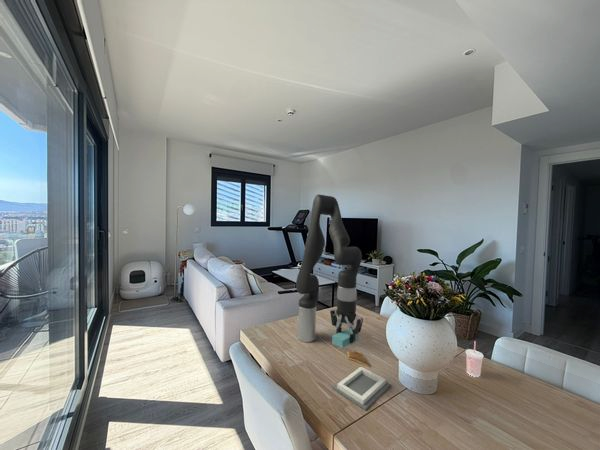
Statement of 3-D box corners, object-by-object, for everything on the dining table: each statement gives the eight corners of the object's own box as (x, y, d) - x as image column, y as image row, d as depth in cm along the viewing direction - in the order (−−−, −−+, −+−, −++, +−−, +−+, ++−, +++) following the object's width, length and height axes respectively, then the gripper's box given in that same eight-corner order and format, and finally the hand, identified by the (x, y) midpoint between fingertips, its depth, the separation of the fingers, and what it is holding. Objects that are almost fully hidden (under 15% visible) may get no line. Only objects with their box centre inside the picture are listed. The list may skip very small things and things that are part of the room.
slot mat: (332, 388, 92) (332, 383, 92) (358, 368, 104) (359, 363, 104) (365, 410, 82) (365, 404, 82) (390, 385, 94) (390, 380, 94)
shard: (370, 368, 106) (370, 364, 106) (353, 369, 105) (353, 365, 105) (360, 354, 117) (360, 350, 117) (344, 355, 115) (345, 351, 115)
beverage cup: (461, 369, 106) (462, 337, 106) (475, 369, 106) (477, 337, 106) (471, 378, 100) (472, 345, 99) (486, 379, 100) (488, 345, 99)
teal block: (348, 335, 103) (348, 328, 103) (358, 340, 99) (358, 332, 99) (332, 343, 96) (332, 335, 96) (342, 348, 92) (342, 340, 92)
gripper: (368, 299, 95) (366, 343, 96) (336, 291, 105) (335, 330, 105) (358, 304, 89) (356, 350, 90) (326, 295, 99) (325, 336, 100)
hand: (345, 339), depth 98 cm, fingers closed on teal block, 5 cm apart
